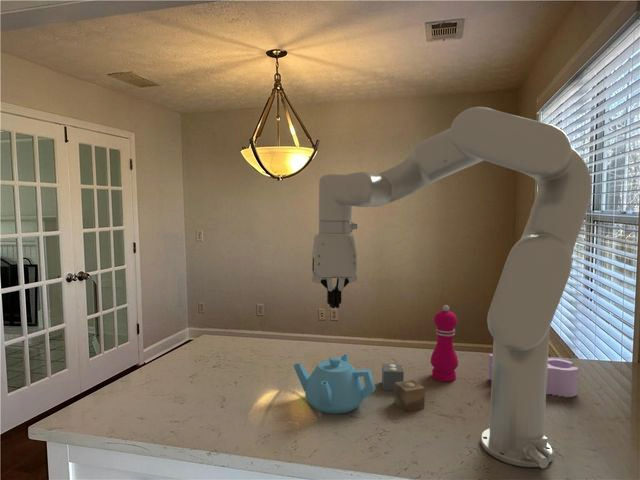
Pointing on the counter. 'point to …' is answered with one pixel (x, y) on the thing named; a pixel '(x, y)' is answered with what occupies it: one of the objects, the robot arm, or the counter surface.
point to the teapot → (335, 385)
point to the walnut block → (409, 395)
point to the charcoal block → (391, 375)
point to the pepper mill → (444, 346)
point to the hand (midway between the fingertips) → (334, 306)
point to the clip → (556, 377)
